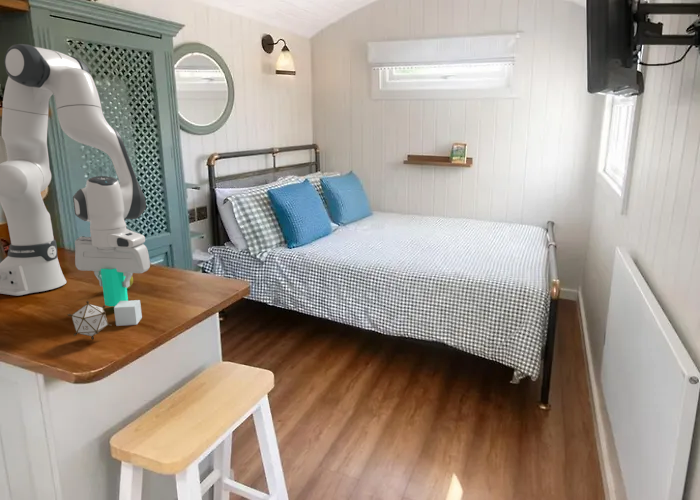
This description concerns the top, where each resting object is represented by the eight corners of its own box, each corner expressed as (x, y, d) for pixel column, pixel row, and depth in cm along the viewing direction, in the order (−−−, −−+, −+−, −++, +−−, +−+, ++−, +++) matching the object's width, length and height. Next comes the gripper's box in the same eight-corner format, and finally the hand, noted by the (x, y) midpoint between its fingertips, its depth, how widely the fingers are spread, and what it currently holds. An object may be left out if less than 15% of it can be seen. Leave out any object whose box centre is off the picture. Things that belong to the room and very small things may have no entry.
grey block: (116, 326, 125) (113, 307, 124) (122, 318, 130) (120, 301, 129) (136, 324, 126) (134, 306, 125) (142, 317, 131) (140, 300, 130)
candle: (119, 307, 133) (114, 264, 131) (99, 305, 135) (94, 263, 132) (132, 299, 139) (128, 259, 136) (114, 298, 140) (109, 257, 138)
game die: (63, 346, 114) (56, 305, 111) (87, 331, 122) (82, 293, 119) (98, 348, 112) (92, 307, 110) (120, 333, 120) (115, 294, 118)
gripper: (66, 238, 131) (72, 288, 134) (137, 241, 128) (142, 291, 131) (82, 233, 137) (88, 281, 140) (150, 236, 134) (155, 284, 137)
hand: (115, 286), depth 136 cm, fingers closed on candle, 5 cm apart
